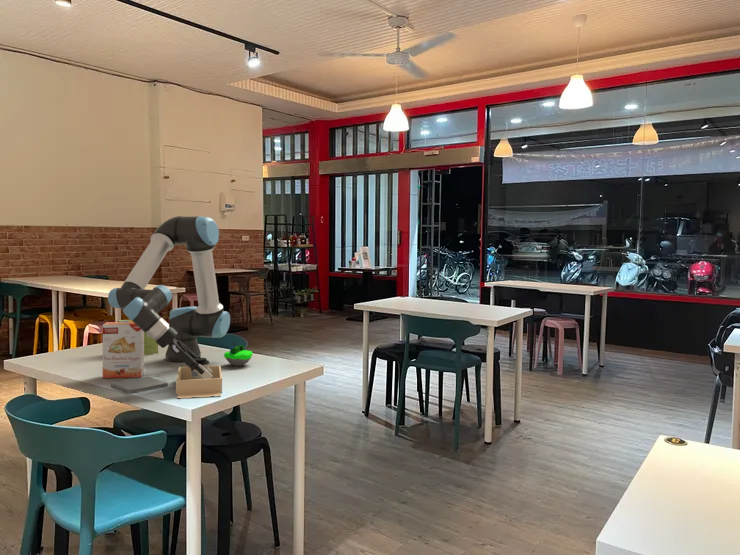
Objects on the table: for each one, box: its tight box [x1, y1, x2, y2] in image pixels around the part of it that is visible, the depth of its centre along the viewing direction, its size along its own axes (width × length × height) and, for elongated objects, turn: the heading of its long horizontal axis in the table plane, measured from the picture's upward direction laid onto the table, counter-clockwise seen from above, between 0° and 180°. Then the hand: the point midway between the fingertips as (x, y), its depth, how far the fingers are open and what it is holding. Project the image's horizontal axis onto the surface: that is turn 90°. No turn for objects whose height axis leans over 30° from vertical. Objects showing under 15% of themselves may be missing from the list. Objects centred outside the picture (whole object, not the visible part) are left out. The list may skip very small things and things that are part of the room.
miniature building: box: [223, 341, 254, 367], centre depth 237 cm, size 12×12×11 cm
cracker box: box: [102, 321, 145, 379], centre depth 213 cm, size 14×6×21 cm, turn 103°
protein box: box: [117, 319, 159, 355], centre depth 257 cm, size 10×15×16 cm
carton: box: [175, 365, 223, 399], centre depth 201 cm, size 15×31×5 cm, turn 17°
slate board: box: [110, 375, 169, 394], centre depth 199 cm, size 14×14×1 cm
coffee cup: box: [191, 357, 210, 379], centre depth 201 cm, size 7×7×10 cm
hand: (209, 376), depth 202 cm, fingers closed on coffee cup, 7 cm apart
